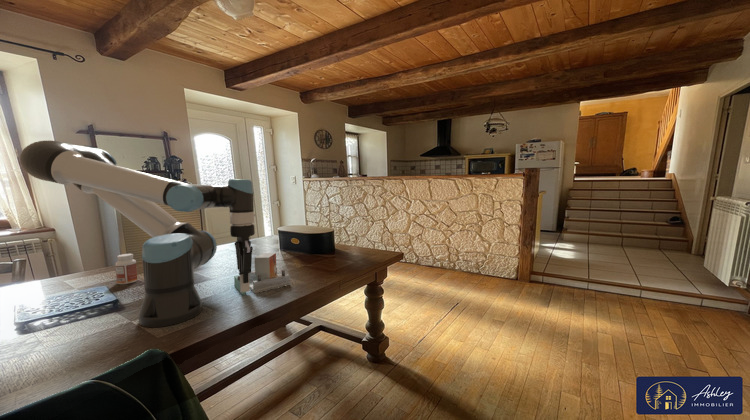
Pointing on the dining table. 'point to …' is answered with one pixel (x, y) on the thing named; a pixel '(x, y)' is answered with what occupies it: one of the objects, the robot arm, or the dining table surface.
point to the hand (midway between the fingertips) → (245, 291)
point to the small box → (265, 265)
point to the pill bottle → (126, 269)
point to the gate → (238, 283)
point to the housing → (267, 282)
